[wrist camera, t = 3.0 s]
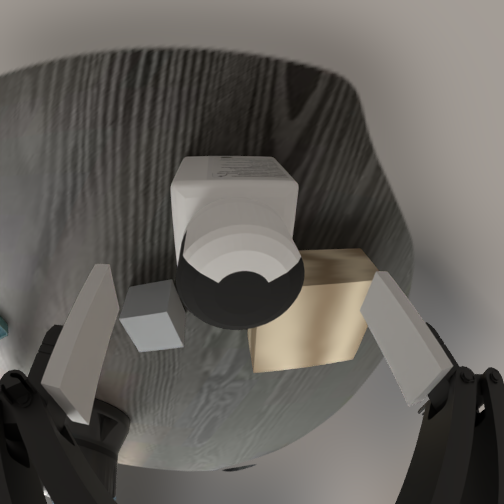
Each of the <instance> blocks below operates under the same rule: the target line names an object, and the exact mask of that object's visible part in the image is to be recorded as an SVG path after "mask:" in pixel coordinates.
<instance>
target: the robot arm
mask: <svg viewBox="0 0 504 504" xmlns="http://www.w3.org/2000/svg"><path fill="white" fill-rule="evenodd" d="M119 309H120V308H119V304H118V300H117V296H116V292H115V287H114V283H113V278H112V273H111V268H110V264H95V265H94V267H93V269H92V271H91V272H90V274H89V276H88V278H87V280H86V282H85V284H84V285H83V287H82V289H81V291H80V293H79V295H78V297H77V299H76V301H75V303H74V305H73V307H72V309H71V311H70V313H69V316H68V318H67V320H66V322H65V324H64V326H61V325H54V326H53V327H52V328H51V329H50V330H49V331H48V332H47V333H46V335H45V337H44V339H43V342H42V345H41V346H40V348H39V353H37V355H36V358H35V360H34V362H33V365H32V367H31V370H30V372H29V375H28V377H26V375H25V374H24V373H23V372H21V371H20V370H11V371H8V372H7V373H5V374H4V375H3V377H2V378H1V379H0V504H47V502H46V499H45V496H44V495H46V496H48V497H51V501H52V504H117V503H116V475H117V460H118V453H119V450H120V448H121V446H122V444H123V443H124V441H125V439H126V437H127V435H128V433H129V427H130V420H129V418H128V417H127V416H126V415H125V414H124V413H123V412H121V411H120V410H118V409H117V408H115V407H113V406H111V405H109V404H107V403H105V402H102V401H99V400H97V399H94V398H95V394H96V389H97V385H98V381H99V377H100V373H101V369H102V366H103V362H104V358H105V355H106V351H107V347H108V344H109V341H110V337H111V334H112V331H113V328H114V324H115V321H116V318H117V315H118V312H119ZM360 312H361V314H362V316H363V317H364V319H365V321H366V323H367V325H368V327H369V329H370V330H371V332H372V334H373V336H374V338H375V340H376V342H377V344H378V345H379V347H380V349H381V351H382V353H383V355H384V357H385V359H386V361H387V363H388V365H389V367H390V369H391V371H392V373H393V375H394V377H395V379H396V381H397V383H398V385H399V387H400V389H401V392H402V393H403V396H404V398H405V400H406V402H407V404H408V406H411V405H415V404H417V403H420V402H421V401H422V400H423V399H424V398H425V397H426V396H427V395H428V397H429V399H430V400H428V401H427V402H426V403H425V405H423V407H421V408H420V410H419V411H418V413H419V414H420V413H421V412H422V411H423V410H424V409H425V412H424V413H423V414H422V415H424V416H423V421H422V425H421V429H420V433H419V436H418V440H417V444H416V447H415V451H414V454H413V457H412V460H411V463H410V466H409V469H408V472H407V475H406V478H405V480H404V483H403V486H402V488H401V492H400V494H399V496H398V498H397V501H396V503H395V504H504V383H503V379H502V376H501V375H500V373H499V371H498V370H496V369H494V368H492V367H491V368H488V369H487V370H486V371H485V372H484V373H483V374H474V373H473V372H472V371H471V370H470V369H469V368H467V367H464V366H462V367H459V366H458V364H457V362H456V361H455V359H454V357H453V356H452V354H451V353H450V351H449V350H448V348H447V347H446V345H444V342H443V341H442V339H441V338H440V336H439V335H438V333H437V332H436V330H435V329H434V328H433V327H432V326H431V325H430V324H428V323H427V322H426V323H425V322H424V320H423V319H422V318H421V316H420V315H419V313H418V312H417V311H416V309H415V308H414V306H413V305H412V303H411V302H410V301H409V299H408V298H407V297H406V295H405V294H404V293H403V291H402V290H401V289H400V287H399V286H398V285H397V283H396V282H395V281H394V279H393V278H392V277H391V276H390V274H389V273H388V272H387V271H376V273H375V275H374V278H373V280H372V283H371V285H370V287H369V290H368V292H367V295H366V297H365V299H364V302H363V304H362V306H361V308H360ZM483 404H484V407H485V409H484V410H483V411H482V412H481V413H479V408H480V407H481V406H482V405H483Z"/></svg>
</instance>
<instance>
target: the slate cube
mask: <svg viewBox="0 0 504 504" xmlns="http://www.w3.org/2000/svg"><path fill="white" fill-rule="evenodd" d="M119 320H120V322H121V323H122V325H123V327H124V328H125V330H126V331H127V333H128V335H129V336H130V338H131V339H132V341H133V343H134V344H135V346H136V347H137V349H138V350H139V352H145V351H155V350H163V349H171V348H179V347H184V335H185V320H186V313H185V310H184V308H183V305H182V303H181V301H180V298H179V296H178V293H177V291H176V288H175V285H174V283H173V280H172V279H170V280H165V281H159V282H154V283H148V284H143V285H138V286H132V287H129V289H128V292H127V295H126V298H125V301H124V305H123V308H122V311H121V314H120V317H119Z"/></svg>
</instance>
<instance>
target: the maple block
mask: <svg viewBox="0 0 504 504" xmlns="http://www.w3.org/2000/svg"><path fill="white" fill-rule="evenodd" d="M298 251H299V253H300V255H301V257H302V260H303V263H304V269H305V277H304V283H303V286H302V289H301V292H300V293H299V295H298V297H297V299H296V300H295V301H294V303H293V304H292V305H291V306H290V307H289V309H288V310H287V311H286V312H284V313H283V314H282V315H281V316H279V317H278V318H276V319H275V320H273V321H271V322H269V323H267V324H265V325H262V326H259V327H255V328H251V329H248V341H249V347H250V353H251V360H252V366H253V372H254V373H258V372H269V371H278V370H287V369H295V368H303V367H310V366H316V365H323V364H329V363H335V362H340V361H346V360H351V359H353V358H354V356H355V354H356V352H357V349H358V347H359V345H360V343H361V340H362V338H363V336H364V334H365V331H366V329H367V326H368V325H367V323H366V321H365V319H364V317H363V316H362V314H361V312H360V308H361V306H362V304H363V302H364V299H365V297H366V295H367V292H368V290H369V287H370V285H371V283H372V280H373V278H374V275H375V273H376V271H379V270H378V269H377V268H376V266H375V265H374V264H373V263H372V262H371V260H370V259H369V258H368V257H367V255H366V254H365V253H364V252H363V250H362V249H361V248H355V249H326V250H298Z"/></svg>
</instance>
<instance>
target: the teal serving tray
mask: <svg viewBox="0 0 504 504" xmlns="http://www.w3.org/2000/svg"><path fill="white" fill-rule="evenodd" d="M6 336H8V325H7V323H6V322H5V321H4V320H3V319H2V318H1V316H0V339H2V338H4V337H6Z"/></svg>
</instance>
